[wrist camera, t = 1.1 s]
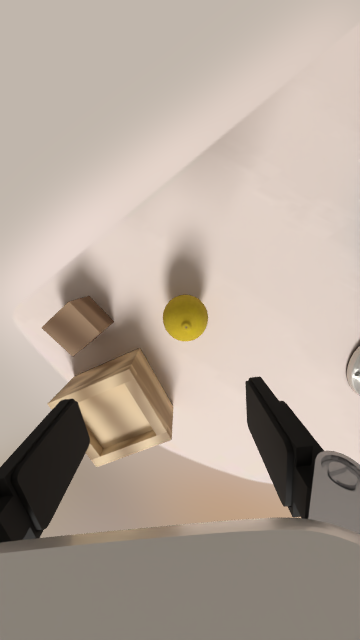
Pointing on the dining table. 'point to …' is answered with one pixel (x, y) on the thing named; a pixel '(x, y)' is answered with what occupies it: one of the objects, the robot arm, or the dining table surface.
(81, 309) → the walnut cube
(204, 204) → the dining table surface
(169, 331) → the lemon
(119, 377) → the oak tray
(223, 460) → the dining table surface
